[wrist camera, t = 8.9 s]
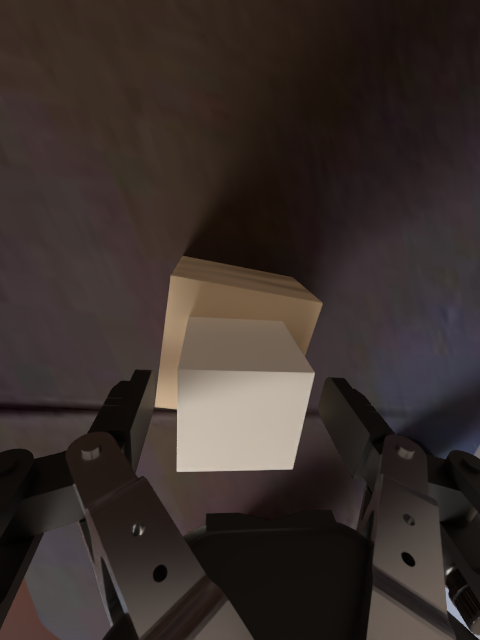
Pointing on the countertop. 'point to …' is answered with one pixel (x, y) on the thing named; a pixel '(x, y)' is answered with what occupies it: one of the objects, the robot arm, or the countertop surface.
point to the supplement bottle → (460, 583)
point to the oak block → (228, 309)
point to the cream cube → (240, 395)
